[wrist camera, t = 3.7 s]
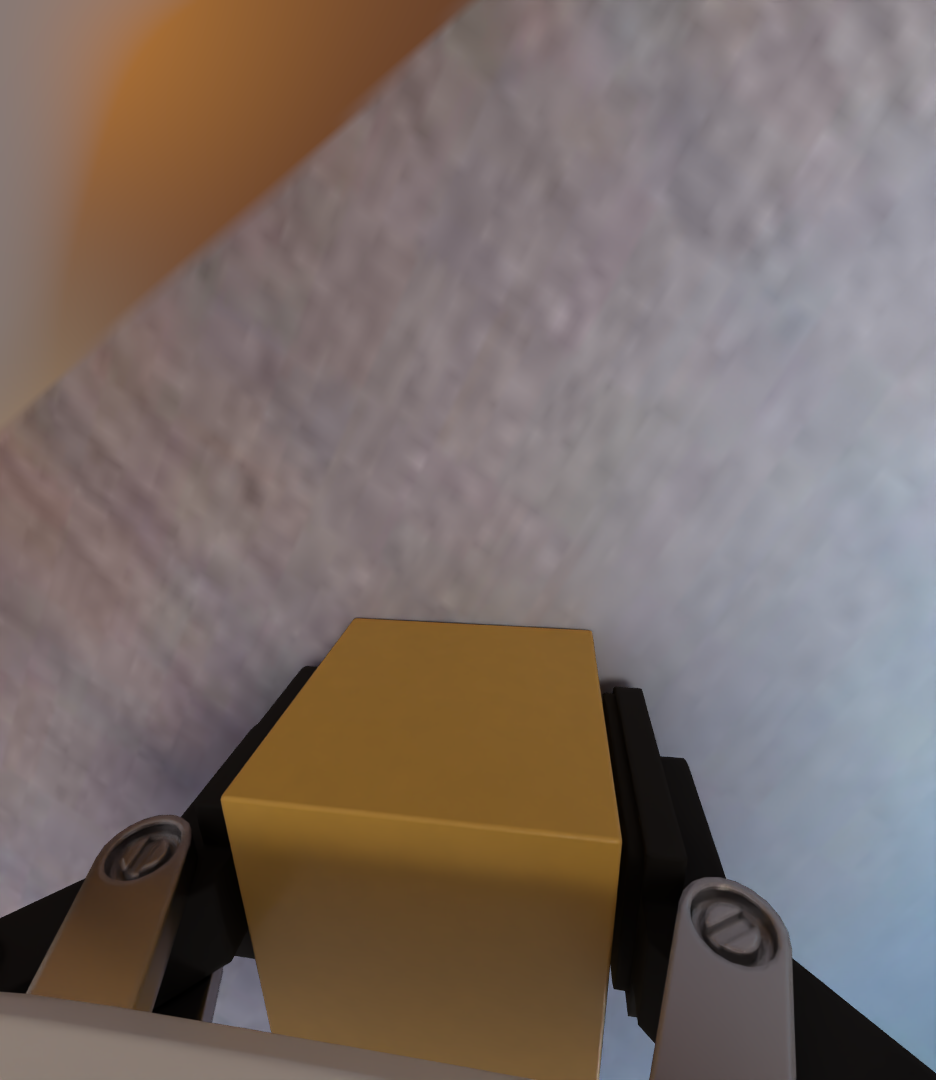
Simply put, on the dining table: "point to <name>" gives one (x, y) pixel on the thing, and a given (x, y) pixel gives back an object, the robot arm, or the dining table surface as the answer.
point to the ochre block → (437, 849)
